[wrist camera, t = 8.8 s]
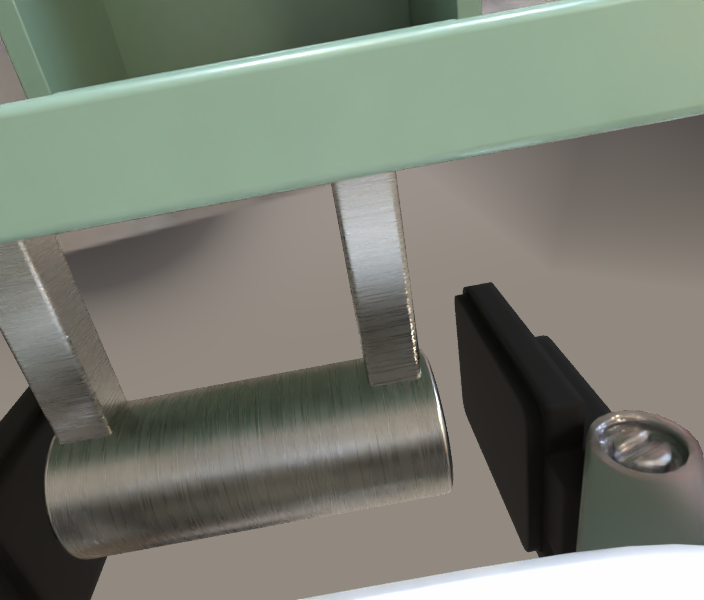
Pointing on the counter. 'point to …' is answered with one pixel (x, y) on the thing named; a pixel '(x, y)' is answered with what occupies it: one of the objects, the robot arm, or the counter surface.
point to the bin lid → (356, 234)
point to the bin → (186, 33)
